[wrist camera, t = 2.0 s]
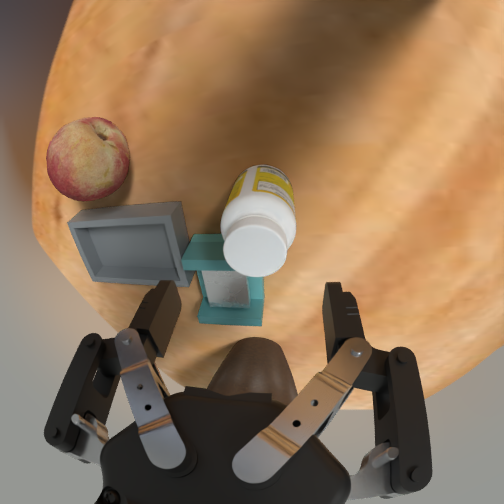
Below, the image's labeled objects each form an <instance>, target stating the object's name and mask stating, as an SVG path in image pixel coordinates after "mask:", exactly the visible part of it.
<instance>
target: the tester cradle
mask: <svg viewBox="0 0 504 504" xmlns="http://www.w3.org/2000/svg"><path fill="white" fill-rule="evenodd" d="M224 242H225V241H224V239H223V236H222V234H194V235H193V237H192V239H191V241H190V243H189V245H188V247H187V249H186V251H185V253H184V255H183V257H182V259H181V261H182V265H183V269H184V270H197V274H198V278H199V282H200V286H201V290H202V294H203V300H202V303H201V306H200V309H199V312H198V316H197V317H198V320H199V323H204V324H220V325H241V326H262V318H263V308H264V279H263V277H249V276H248V280H249V290H250V300H251V303H250V308H232V307H210V304H209V300H208V296H207V292H206V288H205V284H204V279H203V275H202V271H235V270H234V269H233V268H231V267H230V265H229V264H228V263H227V261H226V259H225V257H224V253H223V246H224Z"/></svg>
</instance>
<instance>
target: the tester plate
mask: <svg viewBox="0 0 504 504" xmlns="http://www.w3.org/2000/svg"><path fill="white" fill-rule="evenodd" d="M202 275H203V279H204V284H205V288H206V292H207V296H208V300H209V304H210V307H232V308H250V303H251V300H250V290H249V280H248V276H245V275H243V274H240V273H238V272H237V271H202Z"/></svg>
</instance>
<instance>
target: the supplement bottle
mask: <svg viewBox="0 0 504 504" xmlns="http://www.w3.org/2000/svg"><path fill="white" fill-rule="evenodd" d="M221 233H222V236H223V239H224V241H225V242H224V246H223V253H224V257H225V259H226V261H227V263H228V264H229V265H230V267H231V268H233V269H234V270H235V271H237V272H238V273H240V274H243V275H245V276H249V277H264V276H268V275H271V274H273V273H275V272H276V271H278V270H279V269H280V268H281V267H282V265H283V264H284V262H285V260H286V256H287V250H288V248H289V247H290V246H291V244H292V243H293V240H294V238H295V234H296V216H295V207H294V198H293V190H292V186H291V183H290V181H289V179H288V177H287V176H286V175H285V174H284V173H283V172H282V171H281V170H279V169H277V168H275V167H273V166H269V165H256V166H252V167H250V168H248V169H246V170H245V171H243V172H242V173H241V174H240V175H239V177H238V178H237V180H236V182H235V184H234V186H233V189H232V191H231V194H230V196H229V199H228V201H227V204H226V207H225V209H224V212H223V215H222V218H221Z"/></svg>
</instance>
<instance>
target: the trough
mask: <svg viewBox="0 0 504 504" xmlns="http://www.w3.org/2000/svg"><path fill="white" fill-rule="evenodd" d="M67 223H68V226H69V229H70V231H71V234H72V236H73V239H74V241H75V243H76V246H77V248H78V250H79V253H80V255H81V257H82V259H83V262H84V264H85V266H86V268H87V270H88V272H89V274H90V276H91V279H92V281H95V282H109V283H123V284H139V285H156V286H157V284H158V282H159V281H160V280H173V281H175V284H176V287H189V286H190V283H191V281H192V278H193V276H194V273H195V271H196V270H184V269H183V265H182V261H181V259H182V257H183V255H184V253H185V251H186V249H187V247H188V245H189V243H190V242H189V237H188V233H187V228H186V223H185V219H184V214H183V209H182V204H181V201H178V202H162V203H149V204H137V205H125V206H115V207H105V208H96V209H87V210H81V211H80V212H79V213H77V214H76V215H75V216H74V217H73V218H72V219H71V220H70V221H69V222H67Z"/></svg>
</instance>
